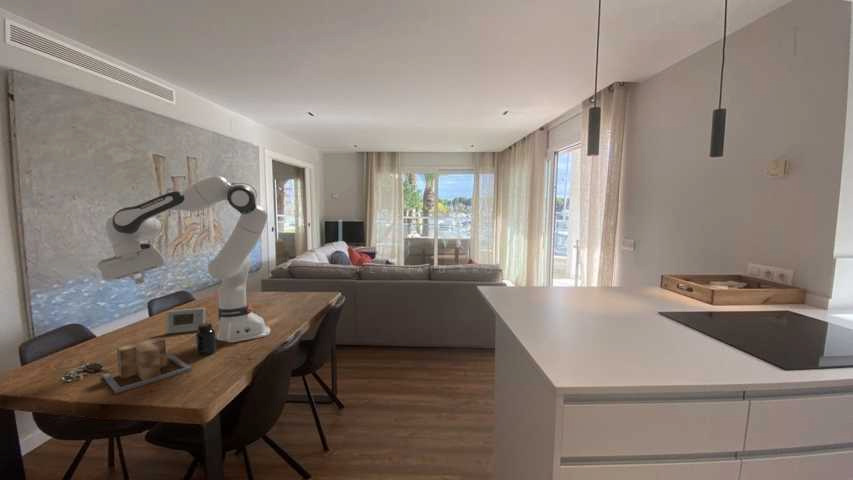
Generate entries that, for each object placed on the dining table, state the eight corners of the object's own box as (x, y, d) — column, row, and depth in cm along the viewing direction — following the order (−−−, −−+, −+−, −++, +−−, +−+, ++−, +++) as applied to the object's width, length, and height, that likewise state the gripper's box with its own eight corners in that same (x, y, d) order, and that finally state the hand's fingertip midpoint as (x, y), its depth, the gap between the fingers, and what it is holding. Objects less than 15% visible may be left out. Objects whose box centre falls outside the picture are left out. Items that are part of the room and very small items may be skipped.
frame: (173, 357, 138) (173, 355, 138) (191, 370, 127) (191, 367, 127) (103, 377, 122) (102, 374, 122) (115, 393, 110) (115, 390, 110)
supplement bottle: (202, 349, 146) (201, 322, 145) (219, 349, 146) (218, 321, 146) (193, 356, 139) (191, 327, 138) (210, 355, 140) (209, 326, 139)
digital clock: (164, 335, 164) (162, 313, 164) (174, 329, 173) (172, 308, 172) (201, 332, 167) (200, 311, 167) (209, 326, 176) (208, 306, 175)
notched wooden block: (163, 362, 133) (161, 337, 133) (174, 371, 126) (172, 344, 125) (118, 375, 123) (116, 347, 123) (127, 385, 116) (125, 356, 115)
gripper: (93, 258, 133) (104, 291, 131) (157, 242, 145) (168, 271, 143) (98, 263, 138) (109, 294, 136) (160, 247, 150) (171, 276, 148)
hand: (140, 282), depth 140 cm, fingers closed
